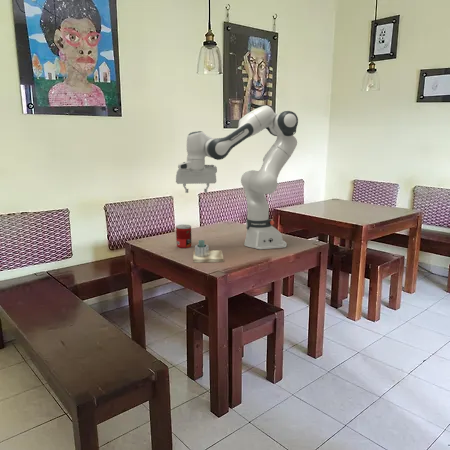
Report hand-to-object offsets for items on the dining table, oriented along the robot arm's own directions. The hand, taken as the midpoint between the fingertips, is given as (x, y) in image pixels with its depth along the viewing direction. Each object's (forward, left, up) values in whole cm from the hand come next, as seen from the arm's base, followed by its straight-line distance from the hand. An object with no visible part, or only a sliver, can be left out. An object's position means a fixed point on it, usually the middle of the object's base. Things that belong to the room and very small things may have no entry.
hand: (196, 192), depth 210 cm
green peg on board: (-5, +17, -29) cm, 34 cm away
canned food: (+7, -4, -29) cm, 30 cm away
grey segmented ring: (-2, +17, -28) cm, 32 cm away
